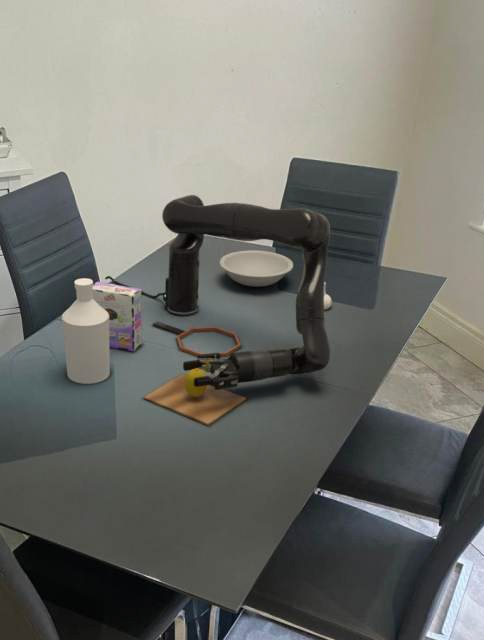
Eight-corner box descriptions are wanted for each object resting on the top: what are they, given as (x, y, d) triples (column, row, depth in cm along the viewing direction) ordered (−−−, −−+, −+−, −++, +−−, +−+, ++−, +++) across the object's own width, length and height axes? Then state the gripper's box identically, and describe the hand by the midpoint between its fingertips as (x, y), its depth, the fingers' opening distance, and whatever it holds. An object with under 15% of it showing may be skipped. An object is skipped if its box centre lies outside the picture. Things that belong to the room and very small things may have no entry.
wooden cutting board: (143, 399, 186) (143, 396, 186) (182, 375, 196) (182, 373, 195) (208, 425, 176) (208, 423, 176) (245, 399, 186) (245, 397, 185)
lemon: (204, 403, 183) (206, 374, 178) (182, 401, 184) (183, 372, 179) (207, 393, 187) (209, 364, 182) (186, 390, 188) (187, 362, 183)
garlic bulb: (329, 303, 233) (333, 278, 228) (331, 311, 228) (335, 286, 223) (309, 302, 233) (313, 277, 228) (311, 310, 228) (314, 285, 223)
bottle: (60, 367, 199) (53, 277, 183) (101, 359, 203) (97, 270, 187) (74, 387, 190) (68, 294, 175) (117, 379, 194) (115, 286, 178)
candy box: (142, 344, 210) (142, 288, 200) (133, 352, 206) (133, 295, 196) (99, 335, 215) (97, 280, 204) (90, 343, 211) (87, 287, 200)
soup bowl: (241, 264, 259) (242, 245, 255) (303, 279, 248) (305, 259, 244) (204, 285, 244) (205, 265, 240) (269, 302, 233) (271, 282, 229)
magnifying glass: (136, 334, 215) (136, 331, 215) (172, 315, 226) (172, 312, 225) (215, 363, 201) (215, 359, 200) (250, 341, 211) (250, 338, 211)
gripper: (241, 340, 187) (180, 347, 184) (263, 365, 176) (198, 373, 173) (239, 366, 192) (179, 374, 189) (260, 393, 181) (197, 401, 178)
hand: (188, 374), depth 181 cm, fingers open, 8 cm apart
